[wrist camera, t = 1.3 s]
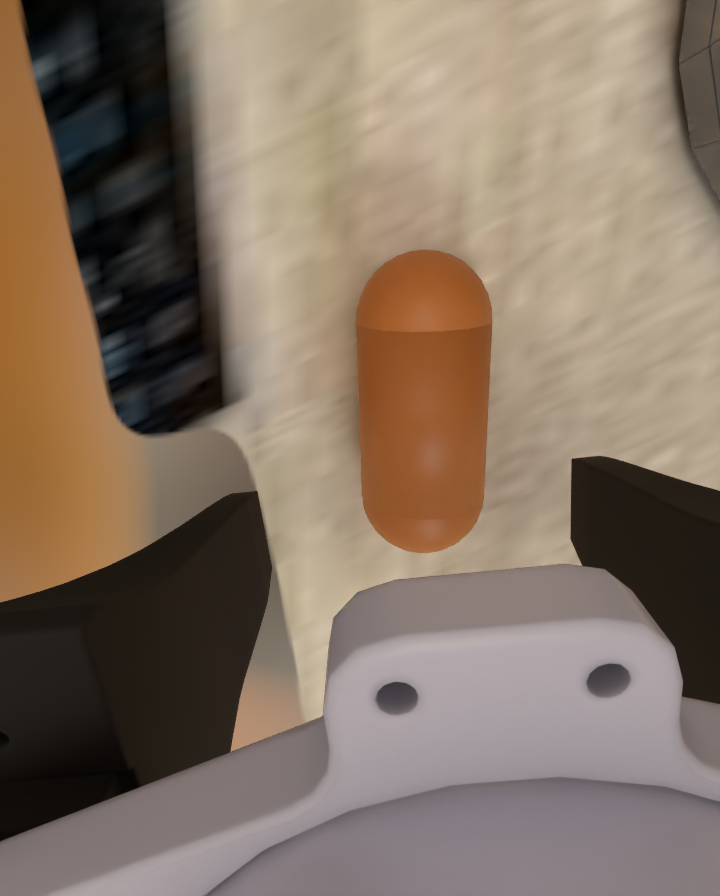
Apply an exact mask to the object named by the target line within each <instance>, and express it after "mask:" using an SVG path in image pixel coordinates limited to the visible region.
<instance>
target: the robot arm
mask: <svg viewBox="0 0 720 896" xmlns="http://www.w3.org/2000/svg"><path fill="white" fill-rule="evenodd" d="M571 541H572V543H573V546H574V548H575V550H576V553H577V555H578V557H579V559H580V561H581V563H582V566H578V565H570V564H558V565H547V566H537V567H526V568H515V569H505V570H494V571H483V572H473V573H462V574H452V575H441V576H430V577H420V578H409V579H399V580H393V581H390V582H387V583H384V584H381V585H378V586H375V587H372V588H369V589H366V590H363V591H360V592H357V593H356V594H355V595H354V596H353V598H352V599H351V600H350V601H349V602H348V603H347V604H346V605H345V606H344V607H343V608H342V609H341V610H340V611H339V613H338V614H337V615H336V616H335V617H334V618H333V624H332V630H331V636H330V643H329V649H328V660H327V672H326V683H325V695H324V707H323V716H322V717H320V718H317V719H315V720H312V721H309V722H307V723H304V724H302V725H299V726H296V727H294V728H291V729H289V730H286V731H284V732H281V733H278V734H276V735H273V736H271V737H268V738H266V739H263V740H260V741H258V742H255V743H253V744H250V745H248V746H245V747H242V748H240V749H237V750H235V751H232V752H230V751H231V744H232V738H233V733H234V727H235V721H236V716H237V710H238V704H239V698H240V695H241V690H242V687H243V683H244V679H245V676H246V673H247V669H248V666H249V663H250V659H251V656H252V652H253V649H254V646H255V642H256V639H257V636H258V633H259V630H260V626H261V623H262V619H263V616H264V613H265V609H266V605H267V601H268V595H269V588H270V580H271V572H272V565H271V560H270V554H269V549H268V544H267V539H266V534H265V529H264V523H263V518H262V513H261V508H260V503H259V498H258V492H257V491H254V492H243V493H233V494H230V495H227V496H225V497H223V498H222V499H220V500H219V501H217V502H215V503H214V504H212V505H211V506H209V507H208V508H206V509H205V510H203V511H202V512H200V513H199V514H197V515H196V516H195V517H193V518H192V519H190V520H189V521H187V522H186V523H184V524H183V525H181V526H180V527H178V528H176V529H175V530H173V531H171V532H170V533H168V534H167V535H165V536H163V537H162V538H160V539H158V540H157V541H155V542H154V543H152V544H150V545H149V546H147V547H145V548H143V549H141V550H140V551H138V552H136V553H134V554H132V555H130V556H128V557H126V558H124V559H122V560H120V561H118V562H116V563H114V564H111V565H109V566H107V567H105V568H102V569H100V570H97V571H95V572H92V573H90V574H87V575H85V576H82V577H80V578H77V579H75V580H72V581H70V582H67V583H64V584H61V585H58V586H55V587H52V588H49V589H46V590H43V591H40V592H36V593H33V594H30V595H26V596H23V597H20V598H16V599H12V600H8V601H5V602H1V603H0V896H720V491H718V490H714V489H711V488H707V487H703V486H700V485H696V484H693V483H689V482H686V481H683V480H679V479H676V478H673V477H670V476H667V475H664V474H660V473H657V472H654V471H651V470H648V469H645V468H642V467H639V466H636V465H633V464H630V463H627V462H624V461H620V460H617V459H613V458H609V457H603V456H595V457H585V458H575V459H572V473H571Z"/></svg>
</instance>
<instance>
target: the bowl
mask: <svg viewBox="0 0 720 896" xmlns="http://www.w3.org/2000/svg"><path fill="white" fill-rule="evenodd" d="M679 64H680V65H679V70H680V76H681V83H682V90H683V96H684V103H685V109H686V116H687V123H688V129H689V136H690V142H691V147H692V148H693V149H692V151H693V153H694V155H695V156H696V158H697V160H698V162H699V164H700V166H701V168H702V169H703V171H704V173H705V175H706V177H707V179H708V181H709V183H710V184H711V186H712V188H713V190H714V192H715V194H716V196H717V197H718V199H719V201H720V0H687V4H686V12H685V19H684V26H683V34H682V41H681V48H680V55H679Z"/></svg>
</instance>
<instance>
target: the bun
mask: <svg viewBox="0 0 720 896" xmlns="http://www.w3.org/2000/svg"><path fill="white" fill-rule="evenodd" d="M356 333H357V362H358V392H359V421H360V451H361V481H362V497H363V504H364V509H365V512H366V514H367V517H368V519H369V521H370V522H371V524H372V525H373V527H374V528H375V530H376V531H377V532H378V533H379V534H380V535H381V536H382V537H383V538H384V539H385V540H386V541H388V542H389V543H391V544H393V545H395V546H397V547H399V548H401V549H403V550H407V551H410V552H417V553H430V552H437V551H440V550H443V549H445V548H448V547H450V546H452V545H454V544H456V543H457V542H459V541H460V540H461V539H462V538H464V537H465V536H466V535H467V534H468V533H469V531H470V530H471V529H472V527H473V526H474V525H475V523H476V522H477V519H478V517H479V514H480V512H481V509H482V505H483V499H484V484H485V463H486V442H487V420H488V399H489V378H490V357H491V336H492V308H491V304H490V300H489V296H488V293H487V291H486V289H485V287H484V285H483V283H482V281H481V279H480V278H479V277H478V276H477V274H476V273H475V272H474V270H473V269H471V268H470V267H469V266H468V265H467V264H466V263H464V262H463V261H462V260H460V259H458V258H456V257H454V256H452V255H450V254H447V253H443V252H440V251H432V250H419V251H412V252H408V253H405V254H402V255H399V256H397V257H395V258H393V259H392V260H390V261H388V262H387V263H385V264H384V265H383V266H382V267H381V268H379V269H378V270H377V271H376V272H375V273H374V274H373V276H372V277H371V278H370V280H369V281H368V282H367V284H366V286H365V288H364V290H363V292H362V294H361V296H360V300H359V304H358V307H357V317H356Z"/></svg>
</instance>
